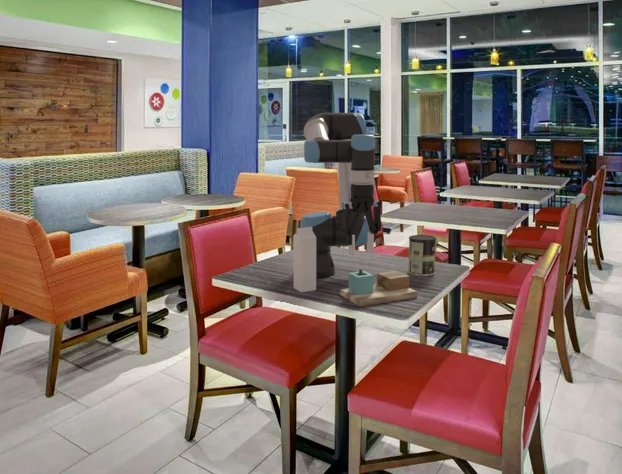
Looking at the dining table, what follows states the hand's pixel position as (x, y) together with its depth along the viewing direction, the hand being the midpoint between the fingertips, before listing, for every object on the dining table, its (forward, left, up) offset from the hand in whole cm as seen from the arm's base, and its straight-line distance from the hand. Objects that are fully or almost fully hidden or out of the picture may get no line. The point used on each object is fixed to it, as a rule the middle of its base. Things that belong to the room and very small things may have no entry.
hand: (361, 253), depth 179 cm
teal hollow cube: (0, 0, -13) cm, 13 cm away
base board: (+2, +6, -15) cm, 16 cm away
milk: (-16, -13, -15) cm, 26 cm away
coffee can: (-16, +37, -15) cm, 43 cm away
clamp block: (0, +13, -13) cm, 18 cm away
